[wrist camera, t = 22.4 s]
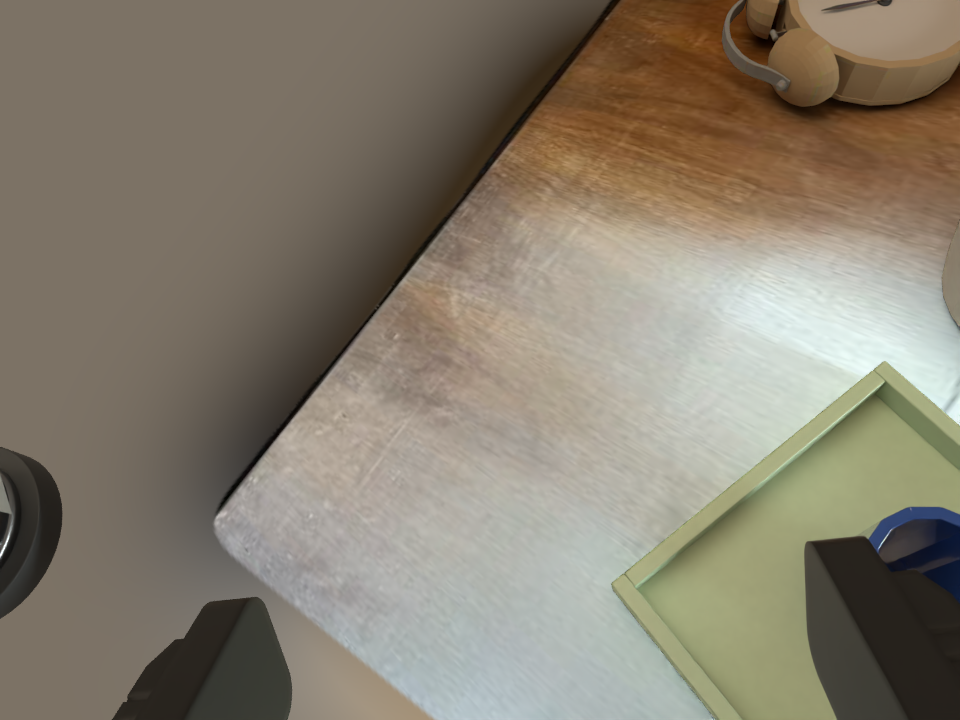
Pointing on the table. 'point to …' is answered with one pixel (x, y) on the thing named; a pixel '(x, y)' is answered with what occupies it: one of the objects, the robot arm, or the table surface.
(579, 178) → the table surface
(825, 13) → the alarm clock
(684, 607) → the serving tray
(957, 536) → the beaker
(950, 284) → the potted plant
